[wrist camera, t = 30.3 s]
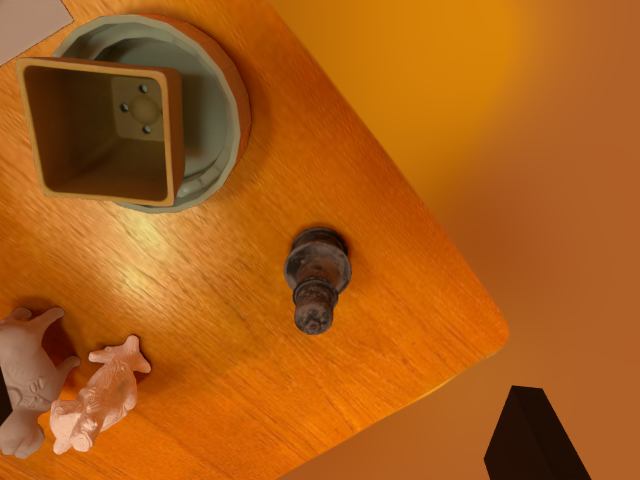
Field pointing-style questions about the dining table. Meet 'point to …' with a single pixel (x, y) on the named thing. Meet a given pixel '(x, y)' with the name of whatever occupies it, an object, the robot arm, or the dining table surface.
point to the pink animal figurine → (99, 398)
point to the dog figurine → (28, 379)
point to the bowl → (197, 92)
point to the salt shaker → (317, 277)
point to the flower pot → (104, 129)
